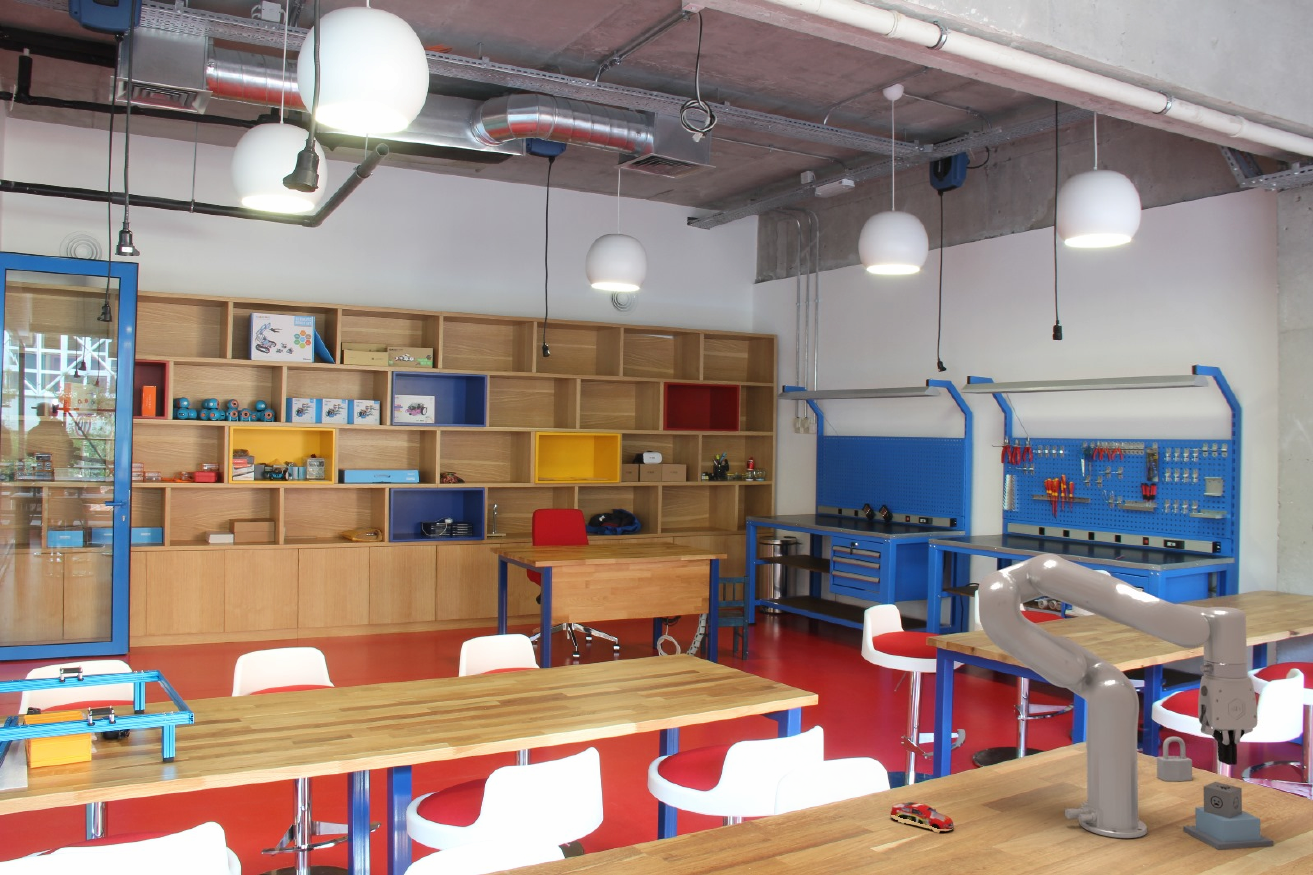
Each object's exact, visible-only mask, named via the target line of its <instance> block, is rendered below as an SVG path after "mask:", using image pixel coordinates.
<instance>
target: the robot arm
mask: <svg viewBox="0 0 1313 875" xmlns="http://www.w3.org/2000/svg"><path fill="white" fill-rule="evenodd" d="M977 595H978V616H979V622H980V624H981V627H982V629H983V631H984V633H985V635H986V637H988V639H989V640H990V641H991V643H993V644H994V645H995V646H996V647H998V648H999V649H1000V650H1002V651H1003V652H1005V653H1006V654H1008V655H1009V656H1011V657H1012V658H1014V659H1015V660H1017V661H1018V662H1019V663H1020V664H1021V665H1024V667H1027V668H1028V669H1029V670H1031V671H1033V672H1034V673H1035V674H1036V675H1037V674H1038V675H1039V676H1040V677H1042V678H1043V679H1045V681H1047V682H1049V683H1050V684H1051V685H1054V686H1056V687H1059V688H1066V689H1068V690H1069V691H1070V692H1073V693H1074V694H1076V695H1077V696H1079V697H1080V698H1082V699H1083V700H1085V701H1086V729H1085V734H1086V735H1085V736H1086V738H1085V740H1086V742H1085V744H1086V746H1085V747H1086V799H1087V800H1086V801H1082V802H1081V806H1079V807H1078V808H1065V810H1064V815H1065V817H1066V819H1068V820H1071V819H1074V820H1075V819H1078V821H1079V825H1080V826H1081V827H1082V828H1083V829H1085V830H1086V831H1089V832H1091V833H1093V834H1096V835H1100V836H1104V837H1108V838H1109V837H1111V838H1117V839H1134V838H1140V837H1144V836H1145V835H1146V834H1147V833H1148V832H1147V831H1148V827H1147V824H1146V823H1144V821H1142V820H1140V819H1139V787H1138V786H1139V783H1138V781H1139V780H1138V779H1139V778H1138V777H1139V776H1138V775H1139V773H1138V772H1139V771H1138V769H1139V768H1138V765H1139V764H1138V727H1139V726H1138V725H1139V715H1140V714H1139V712H1140V702H1139V701H1140V700H1139V696H1138V692H1137V690H1136V687H1135V685H1134V684H1133V683H1132V681H1131V680H1130V679H1129V677H1127V676H1126V674H1124V673H1123V672H1122V670H1120V669H1119V668H1118V667H1116V666H1115V665H1113V664H1111V662H1108V661H1107V660H1105V659H1103V658H1102V657H1100V656H1099V655H1097V654H1095V653H1094V652H1093V651H1090V650H1089V649H1088V648H1086V647H1084V646H1082V645H1081V644H1079V643H1078V642H1076V641H1075V640H1073V639H1071V638H1068V637H1067V636H1063V635H1054V634H1052V633H1050V632H1049V631H1046V630H1045V629H1044V628H1042V627H1041V626H1040V625H1038V624H1036V623H1035V622H1033V621H1031V620H1029V619H1028V618H1027V617H1026V616H1024V614H1023V613H1022V611H1021V605H1022V604H1024V603H1027V602H1030V601H1033V600H1036V599H1038V598H1041V597H1043V596H1046V597H1048V598H1051V599H1054V600H1056V601H1059V602H1062V603H1064V604H1066V605H1067V604H1068V605H1071V606H1072V607H1073V606H1074V607H1076V608H1078V609H1081V610H1083V611H1087V612H1088V613H1091V614H1094V615H1096V616H1099V617H1102V618H1104V619H1107V620H1109V621H1111V622H1113V623H1116V624H1119V625H1122V626H1123V625H1124V626H1125V627H1129V628H1131V629H1134V630H1137V631H1138V632H1141V633H1144V634H1146V635H1149V636H1150V637H1151V636H1152V637H1154V638H1157V639H1160V640H1162V641H1165V642H1168V643H1170V644H1173V645H1175V646H1178V647H1181V648H1185V649H1196V648H1198V647H1201V646H1202V645H1203V665H1200V666H1199V670H1200V672H1201V673H1203V675H1202V676H1201V677H1200V678H1201V679H1200V684H1199V690H1198V703H1197V704H1198V705H1197V708H1198V709H1197V714H1198V721H1199V722H1198V723H1199V724H1201V727H1200V732H1201V733H1202V734H1204V735H1209V736H1212V738H1213V740H1214V741H1215V742H1217V759H1218V762H1220V763H1222V764H1225V765H1228V766H1232V765H1238V747H1237V746H1238V745H1239V744H1240V743H1241V739H1242V737H1243V736H1244V735H1246V734H1249V733H1251V732H1253V731H1254V728H1256V727H1257V726H1258V721H1259V720H1258V710H1257V709H1258V708H1257V698H1256V693H1255V692H1256V691H1255V689H1254V684H1253V680H1252V677H1249V676H1248V654H1247V653H1248V652H1247V651H1248V650H1247V648H1248V647H1247V619H1246V617H1247V616H1246V614H1245V612H1244V611H1243V610H1242V609H1239V608H1236V607H1230V606H1229V607H1227V606H1210V607H1206V606H1205V607H1202V606H1195V605H1189V604H1181V603H1177V604H1176V603H1172V602H1171V601H1170V602H1169V601H1167V600H1165V599H1162V598H1159V597H1157V596H1154V595H1152V594H1149V593H1147V592H1145V591H1143V590H1141V589H1139V588H1137V587H1135V586H1134V585H1132V584H1130V583H1128V582H1126V581H1124V580H1122V579H1120V578H1117V577H1115V576H1111V575H1109V574H1106V573H1103V572H1101V571H1097V570H1095V569H1093V568H1089V567H1087V566H1083V565H1081V564H1078V563H1076V562H1073V561H1070V560H1067V559H1065V558H1062V557H1061V556H1060V555H1057V554H1055V553H1043V554H1039V555H1036V556H1033V557H1031V558H1029V559H1026V560H1023V561H1020V562H1018V563H1015V564H1012V565H1010V566H1006V567H1004V568H1002V569H998V570H996V571H993V572H989V574H987V575H985V576H984V577H983V578H982V580H980V583H979V585H978V588H977Z"/></svg>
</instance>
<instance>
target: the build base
mask: <svg viewBox="0 0 1313 875" xmlns="http://www.w3.org/2000/svg"><path fill="white" fill-rule="evenodd" d="M1194 810H1195V811H1194V812H1195V815H1194V816H1195V817H1194V818H1195V819H1194V820H1195V822H1194V823H1195V824H1194V825H1183V826H1182V827H1183V828H1182V830H1183V831H1182V832H1183V833H1186V834H1188V835H1190V836H1191V837H1193V838H1194V839H1195V838H1196V839H1197V840H1199V841H1201V842H1203V843H1205V844H1206V845H1208V846H1211V847H1212V848H1214V849H1215V850H1218V851H1219V850H1221V851H1222V850H1233V849H1234V850H1235V849H1250V848H1263V847H1265V848H1266V847H1274V845H1275V844H1274V843H1275V842H1274V840H1273V839H1270V838H1268V837H1267V836H1265V835H1263V834H1261V818H1259V817H1257V816H1255V815H1253V814H1250V813H1249V812H1246V811H1244V810H1242V814H1240V815H1237V816H1235V817H1233V818H1231V819H1229V818H1226V817H1222V816H1218V815H1214V814H1211V813H1207V812H1204V806H1196V807H1195V808H1194Z"/></svg>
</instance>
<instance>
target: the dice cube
mask: <svg viewBox="0 0 1313 875" xmlns="http://www.w3.org/2000/svg"><path fill="white" fill-rule="evenodd" d="M1242 789H1243V788H1242V787H1240V786H1239V787H1238V786H1234V785H1230V784H1228V783H1227V784H1226V783H1222V782H1219V781H1214V782H1211V783H1208V784H1205V785H1204V786H1203V807H1204V812H1207V813H1211V814H1214V815H1218V816H1222V817H1226V818H1229V819H1231V818H1233V817H1235V816H1237V815H1240V814H1242V811H1243V806H1242V805H1243V803H1242V802H1243V799H1242V798H1243V796H1242V792H1243V790H1242Z"/></svg>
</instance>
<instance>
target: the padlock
mask: <svg viewBox="0 0 1313 875" xmlns="http://www.w3.org/2000/svg"><path fill="white" fill-rule="evenodd" d="M1173 742H1177V743H1178V744H1179V753H1180V754H1179V756H1178V755H1169V746H1170V743H1173ZM1162 752H1163V753H1162V756H1156V777H1157V779H1160V780H1161V781H1164V782H1185V781H1186V782H1187V781H1189V782H1190V781H1192V780H1193V759H1191V758H1189V757H1187V756H1186V743H1185V741H1184V739H1183V738H1181V737H1179V736H1169V737H1167V738H1165V740H1164V741H1163V744H1162Z"/></svg>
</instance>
